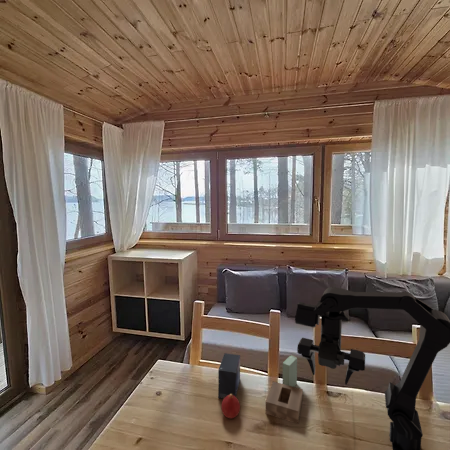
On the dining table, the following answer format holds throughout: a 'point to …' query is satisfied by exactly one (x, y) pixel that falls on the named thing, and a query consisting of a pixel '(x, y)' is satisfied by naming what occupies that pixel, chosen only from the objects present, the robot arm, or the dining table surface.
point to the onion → (230, 406)
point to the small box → (229, 375)
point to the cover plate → (290, 371)
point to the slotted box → (284, 402)
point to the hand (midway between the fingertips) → (329, 379)
